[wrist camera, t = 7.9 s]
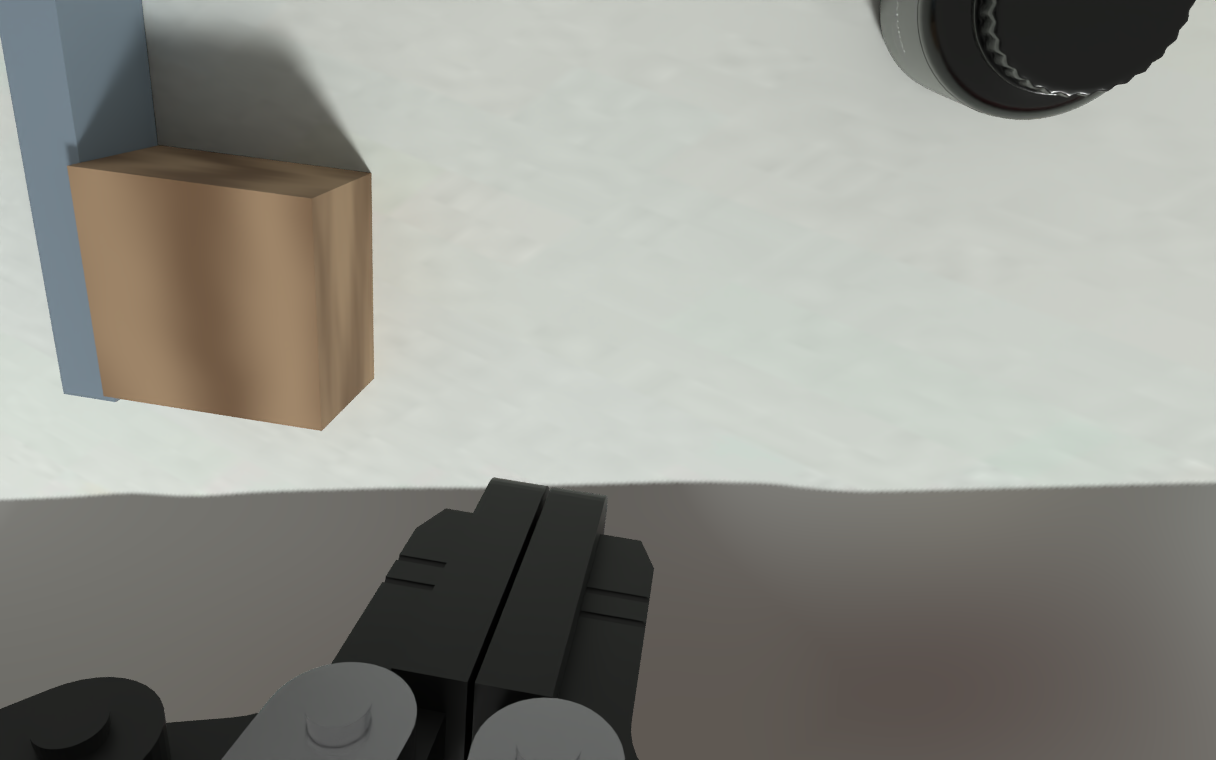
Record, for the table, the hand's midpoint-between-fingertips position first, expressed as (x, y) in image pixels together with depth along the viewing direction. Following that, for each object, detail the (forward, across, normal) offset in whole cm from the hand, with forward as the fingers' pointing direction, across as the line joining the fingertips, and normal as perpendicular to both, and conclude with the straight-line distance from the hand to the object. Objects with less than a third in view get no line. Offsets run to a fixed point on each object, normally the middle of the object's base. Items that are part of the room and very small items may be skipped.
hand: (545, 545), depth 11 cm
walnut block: (+27, +18, +6) cm, 33 cm away
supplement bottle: (+27, -10, -8) cm, 30 cm away
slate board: (+27, +25, +2) cm, 37 cm away
